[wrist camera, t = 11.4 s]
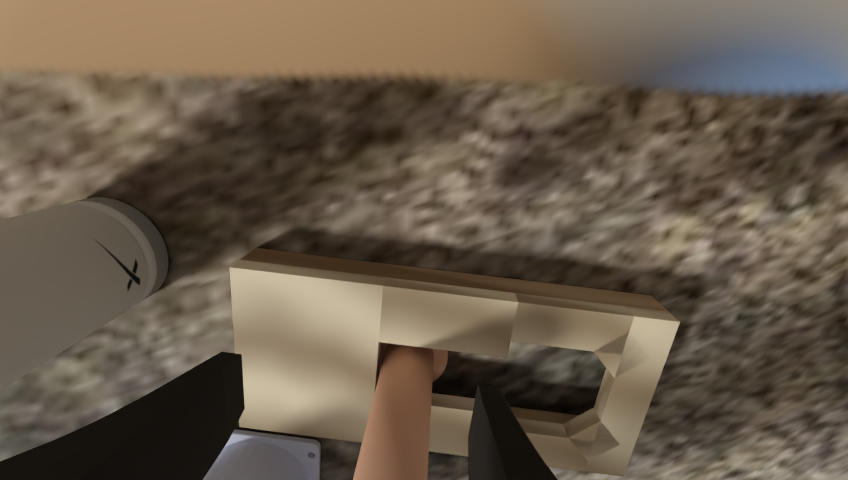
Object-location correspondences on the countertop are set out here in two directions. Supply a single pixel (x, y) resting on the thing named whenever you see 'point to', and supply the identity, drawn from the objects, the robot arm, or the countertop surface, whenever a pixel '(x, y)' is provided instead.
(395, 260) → the countertop surface
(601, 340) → the keyhole plate
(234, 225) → the countertop surface
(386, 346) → the terracotta peg
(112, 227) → the travel mug
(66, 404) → the countertop surface
